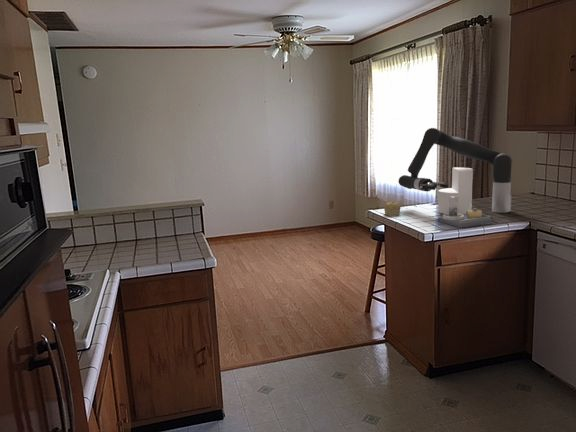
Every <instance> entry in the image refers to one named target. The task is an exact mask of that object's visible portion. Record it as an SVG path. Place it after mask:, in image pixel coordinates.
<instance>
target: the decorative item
mask: <svg viewBox="0 0 576 432" xmlns="http://www.w3.org/2000/svg"><path fill="white" fill-rule="evenodd" d="M401 208H402V207H401V205H400V203H399V202H398V201H388V202H386V203H385V205H384V208H383V209H384V215H385V216H389V217H390V216H391V217H395V216H396V217H397V216H399V215H400V213H401V212H400V211H401Z"/></svg>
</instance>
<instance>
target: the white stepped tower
mask: <svg viewBox="0 0 576 432" xmlns="http://www.w3.org/2000/svg"><path fill="white" fill-rule="evenodd" d="M451 170H452V171H451V172H452V173H451V175H452V176H451V187H448V188H439V189H438V191H437V192H438V193H437V195H438V196H437V197H438V199H437V213H440V214H442V215H443V214H448V213H449V197H450V196H457V197H458V213H457V214H466V213H467V211H468V210H472V208H473V207H472V206H473V205H472V202H473V201H472V200H473V176H474V175H473V173H474V168H470V167H461V166H460V167H457V166H456V167H452V169H451Z"/></svg>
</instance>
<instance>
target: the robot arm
mask: <svg viewBox="0 0 576 432" xmlns="http://www.w3.org/2000/svg"><path fill="white" fill-rule="evenodd" d="M435 145H438V146H440V147H445V148H447V149H449V150H450V151H452V152H454V153H456V154H457V155H461V156H463V157H465V158H469V159H473V160H477V161H478V160H479V161H482V162H486V163H488V164H490V165H492V166H493V167H492V168H493V169H492V171H493V172H492V179H493V180H492V181H493V182H492V198H491V199H492V202H491V212H493V213H498V214H499V213H503V214H506V213H509V212H511V210H512V194H511V187H512V186H511V185H512V165H513V159H512V157H511V155H509V154H508V153H504V152H502V151H501V152H499V151H497V150H493V149H491V148H488V147H486V146H483V145H481V144H479V143H477V142H475V141H471V140H469V139H466V138H462V137H459V136H452V135H450V134H448V133H446V132H444V131H441V130H440V129H438V128H436V127H430V128H427V129H426V130H425V132H424V135H423V138H422V141H421V143H420V145H419V148H418V150H417V152H416V154H415V155H414V157H413V158H412V161H411V162H410V164H409V166H408V169H407V172H409V174H410V175H406V174H403V175H401V176H400V177H399V178H398V184H399V185H400V186H401V187H403V188H406V189H408V190H411V189H413V190H418V191H422V192H430V191H435V190H437V189H438V190H440V189H445V188H449V184H448V183H447V182H442V181H437V182H436V181H433V179H431V178H425V177H419V174H420V172H421V170H422V168H423V166H424V165H425V162H426V159H427V157H428V155H429V154H430V153H429V152H430V151H431V149H432V148H433V146H435Z"/></svg>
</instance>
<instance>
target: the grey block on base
mask: <svg viewBox="0 0 576 432" xmlns="http://www.w3.org/2000/svg"><path fill="white" fill-rule="evenodd" d="M457 213H458V197H457V196H450V197H449V214H447V215H446V216H448V217H460V215H458V214H457Z"/></svg>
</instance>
